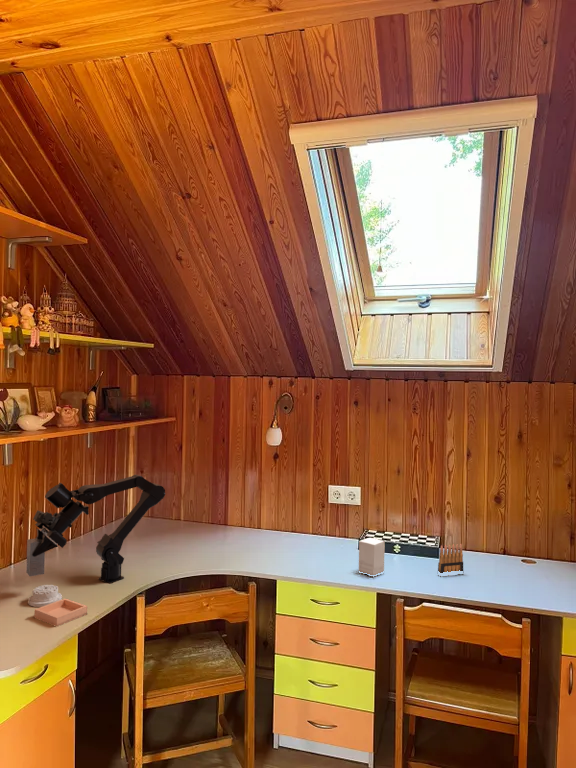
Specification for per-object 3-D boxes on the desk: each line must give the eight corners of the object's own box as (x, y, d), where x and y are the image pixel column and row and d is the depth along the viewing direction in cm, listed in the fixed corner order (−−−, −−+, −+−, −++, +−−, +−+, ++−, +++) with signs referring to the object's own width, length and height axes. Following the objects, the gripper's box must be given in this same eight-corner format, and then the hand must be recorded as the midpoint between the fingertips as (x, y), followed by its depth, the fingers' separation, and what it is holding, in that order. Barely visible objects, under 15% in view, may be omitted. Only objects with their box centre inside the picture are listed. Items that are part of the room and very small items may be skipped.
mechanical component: (25, 599, 180) (31, 610, 172) (25, 586, 180) (32, 596, 172) (57, 593, 186) (65, 603, 178) (57, 580, 186) (65, 590, 178)
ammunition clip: (460, 573, 219) (461, 542, 219) (463, 574, 217) (464, 544, 217) (437, 575, 216) (438, 544, 215) (440, 577, 214) (441, 545, 214)
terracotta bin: (64, 606, 176) (65, 598, 176) (87, 614, 170) (87, 606, 170) (34, 617, 167) (34, 609, 167) (56, 626, 161) (57, 618, 161)
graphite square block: (40, 570, 188) (41, 537, 188) (44, 573, 184) (45, 540, 184) (26, 572, 185) (27, 539, 185) (29, 576, 182) (30, 542, 182)
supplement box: (384, 573, 216) (385, 541, 216) (373, 578, 210) (374, 544, 210) (369, 568, 221) (370, 537, 221) (357, 573, 216) (358, 540, 216)
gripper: (42, 496, 195) (7, 532, 188) (57, 507, 180) (19, 546, 173) (65, 516, 199) (31, 552, 193) (81, 528, 185) (45, 567, 178)
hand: (31, 554), depth 184 cm, fingers closed on graphite square block, 4 cm apart
